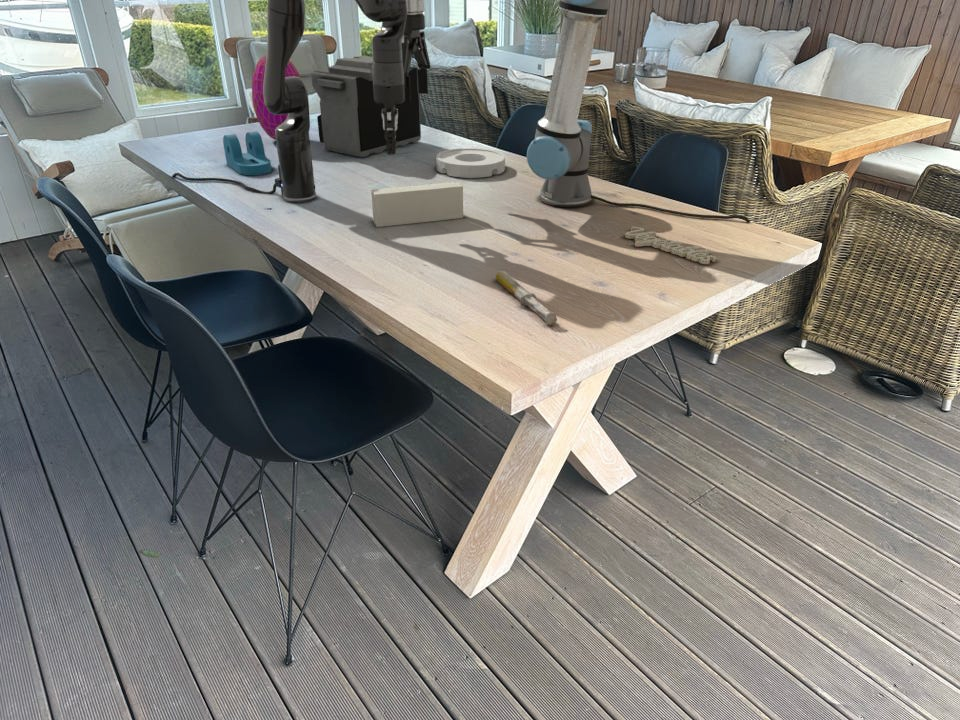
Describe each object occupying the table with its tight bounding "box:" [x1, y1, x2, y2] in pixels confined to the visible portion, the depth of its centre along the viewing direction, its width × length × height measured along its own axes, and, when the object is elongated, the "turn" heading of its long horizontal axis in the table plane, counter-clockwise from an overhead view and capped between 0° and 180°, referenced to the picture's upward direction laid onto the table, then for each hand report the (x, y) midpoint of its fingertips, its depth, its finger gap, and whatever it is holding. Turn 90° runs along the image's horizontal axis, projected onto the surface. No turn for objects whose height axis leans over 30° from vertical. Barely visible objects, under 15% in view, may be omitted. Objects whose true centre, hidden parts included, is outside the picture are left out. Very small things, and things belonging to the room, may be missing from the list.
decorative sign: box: [624, 226, 717, 265], centre depth 170 cm, size 26×1×10 cm
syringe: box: [495, 269, 558, 326], centre depth 143 cm, size 25×4×3 cm, turn 21°
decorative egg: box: [251, 55, 302, 141], centre depth 257 cm, size 19×19×30 cm
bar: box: [370, 181, 464, 228], centre depth 185 cm, size 24×4×9 cm, turn 110°
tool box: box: [310, 55, 422, 159], centre depth 250 cm, size 37×22×30 cm, turn 144°
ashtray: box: [435, 147, 506, 179], centre depth 231 cm, size 23×23×4 cm
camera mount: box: [222, 131, 272, 176], centre depth 226 cm, size 18×10×10 cm, turn 35°
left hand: (391, 149), depth 173 cm, fingers open, 8 cm apart
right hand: (414, 97), depth 194 cm, fingers open, 13 cm apart
